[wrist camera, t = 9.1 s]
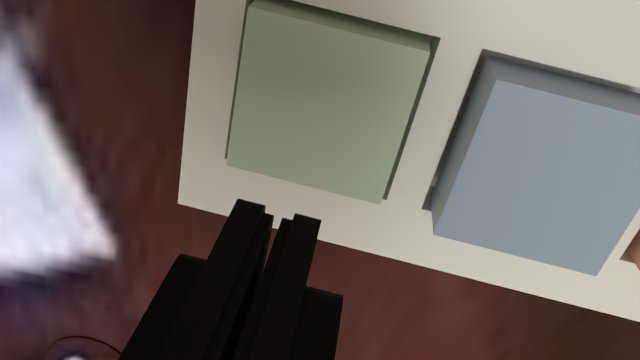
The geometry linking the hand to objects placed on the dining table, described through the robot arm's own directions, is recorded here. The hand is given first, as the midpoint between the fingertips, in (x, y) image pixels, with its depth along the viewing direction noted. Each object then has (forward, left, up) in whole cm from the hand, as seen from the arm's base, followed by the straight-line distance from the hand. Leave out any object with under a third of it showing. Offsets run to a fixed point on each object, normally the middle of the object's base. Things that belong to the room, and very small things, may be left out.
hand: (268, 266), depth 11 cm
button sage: (+1, 0, -11) cm, 11 cm away
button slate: (+1, +8, -10) cm, 13 cm away
